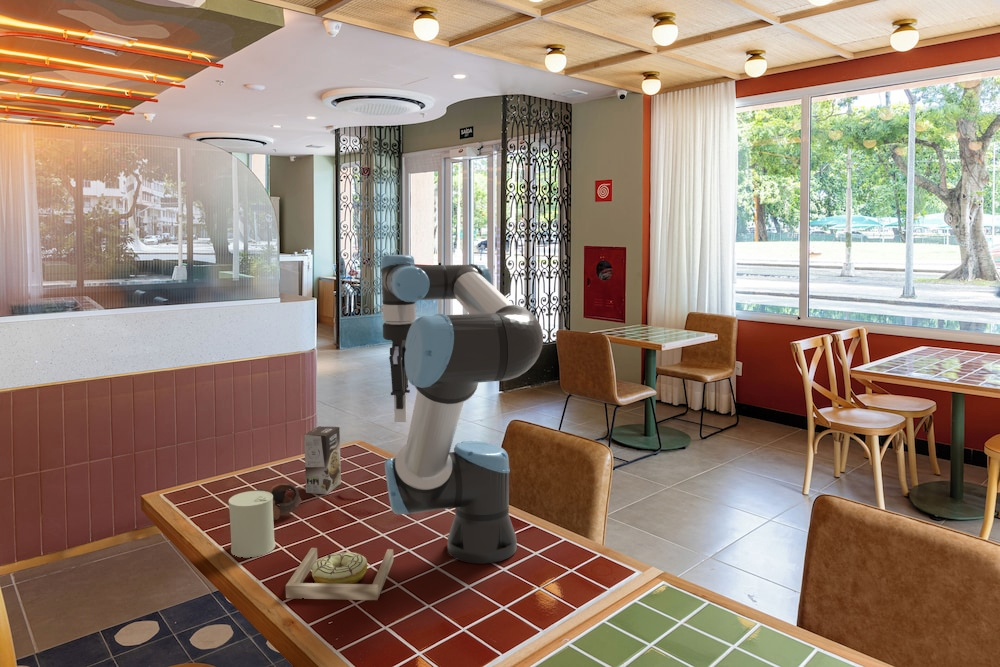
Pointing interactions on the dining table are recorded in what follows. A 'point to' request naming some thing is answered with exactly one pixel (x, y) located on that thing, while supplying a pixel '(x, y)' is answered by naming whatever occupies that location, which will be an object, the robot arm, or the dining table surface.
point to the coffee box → (322, 460)
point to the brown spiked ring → (283, 499)
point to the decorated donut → (340, 568)
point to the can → (251, 524)
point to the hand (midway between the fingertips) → (400, 421)
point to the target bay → (336, 590)
